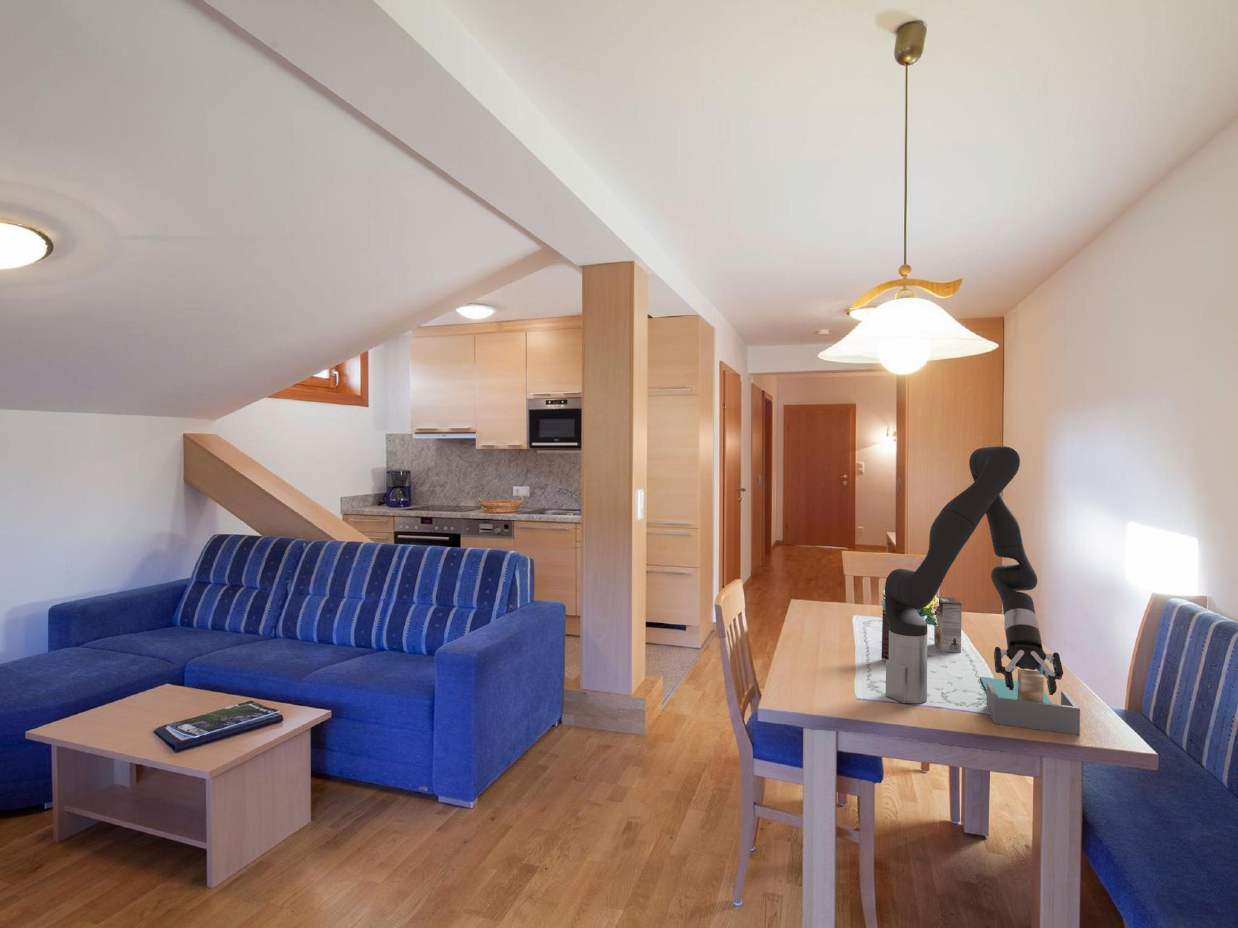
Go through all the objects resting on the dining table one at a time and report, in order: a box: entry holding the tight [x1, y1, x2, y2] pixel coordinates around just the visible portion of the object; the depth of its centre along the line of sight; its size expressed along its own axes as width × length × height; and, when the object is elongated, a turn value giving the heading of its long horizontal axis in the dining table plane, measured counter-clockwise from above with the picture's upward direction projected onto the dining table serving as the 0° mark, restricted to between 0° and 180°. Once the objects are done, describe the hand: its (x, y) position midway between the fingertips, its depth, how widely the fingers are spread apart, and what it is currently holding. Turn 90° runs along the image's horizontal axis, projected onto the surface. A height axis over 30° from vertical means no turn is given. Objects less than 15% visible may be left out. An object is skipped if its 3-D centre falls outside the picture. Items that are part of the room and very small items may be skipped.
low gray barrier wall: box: [986, 682, 1081, 736], centre depth 158 cm, size 17×12×6 cm
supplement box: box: [881, 608, 889, 663], centre depth 203 cm, size 9×5×16 cm, turn 105°
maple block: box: [1017, 668, 1045, 703], centre depth 158 cm, size 4×4×8 cm
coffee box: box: [933, 596, 963, 653], centre depth 217 cm, size 9×6×16 cm
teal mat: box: [979, 676, 1053, 704], centre depth 176 cm, size 14×18×1 cm
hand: (1031, 691), depth 157 cm, fingers open, 8 cm apart
